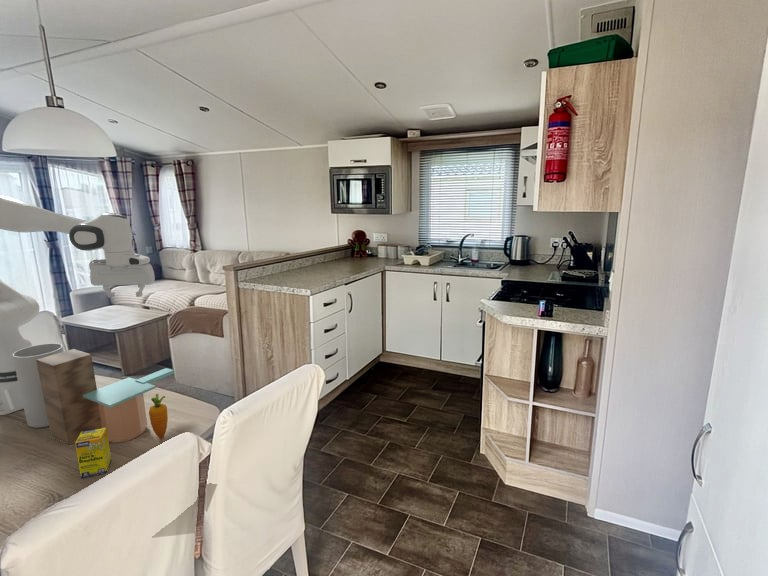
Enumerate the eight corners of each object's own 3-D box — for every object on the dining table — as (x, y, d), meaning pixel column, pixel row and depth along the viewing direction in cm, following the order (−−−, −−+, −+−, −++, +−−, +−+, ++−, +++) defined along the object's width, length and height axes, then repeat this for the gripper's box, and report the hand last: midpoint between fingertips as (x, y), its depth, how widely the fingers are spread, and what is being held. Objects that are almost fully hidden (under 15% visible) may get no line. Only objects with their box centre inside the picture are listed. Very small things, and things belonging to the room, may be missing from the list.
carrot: (158, 434, 126) (152, 391, 123) (173, 434, 126) (168, 391, 123) (149, 443, 121) (142, 398, 118) (165, 443, 121) (159, 399, 118)
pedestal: (86, 421, 133) (73, 348, 128) (103, 428, 129) (91, 354, 123) (51, 436, 125) (36, 359, 119) (68, 444, 120) (53, 365, 115)
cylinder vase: (71, 422, 133) (58, 352, 127) (23, 432, 126) (7, 360, 121) (77, 405, 143) (65, 341, 138) (32, 415, 137) (18, 347, 132)
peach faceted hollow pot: (98, 444, 121) (91, 402, 118) (116, 424, 131) (110, 385, 128) (136, 441, 122) (130, 399, 119) (151, 421, 133) (146, 383, 130)
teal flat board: (157, 368, 142) (157, 365, 142) (183, 376, 136) (183, 372, 136) (83, 397, 121) (82, 393, 121) (110, 407, 115) (109, 404, 114)
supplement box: (80, 479, 105) (74, 443, 103) (87, 466, 111) (80, 431, 108) (107, 473, 108) (101, 438, 105) (112, 460, 113) (106, 426, 111)
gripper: (83, 260, 136) (89, 299, 139) (146, 260, 139) (151, 298, 142) (93, 258, 142) (99, 295, 145) (154, 257, 145) (158, 294, 148)
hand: (125, 296), depth 143 cm, fingers open, 8 cm apart
